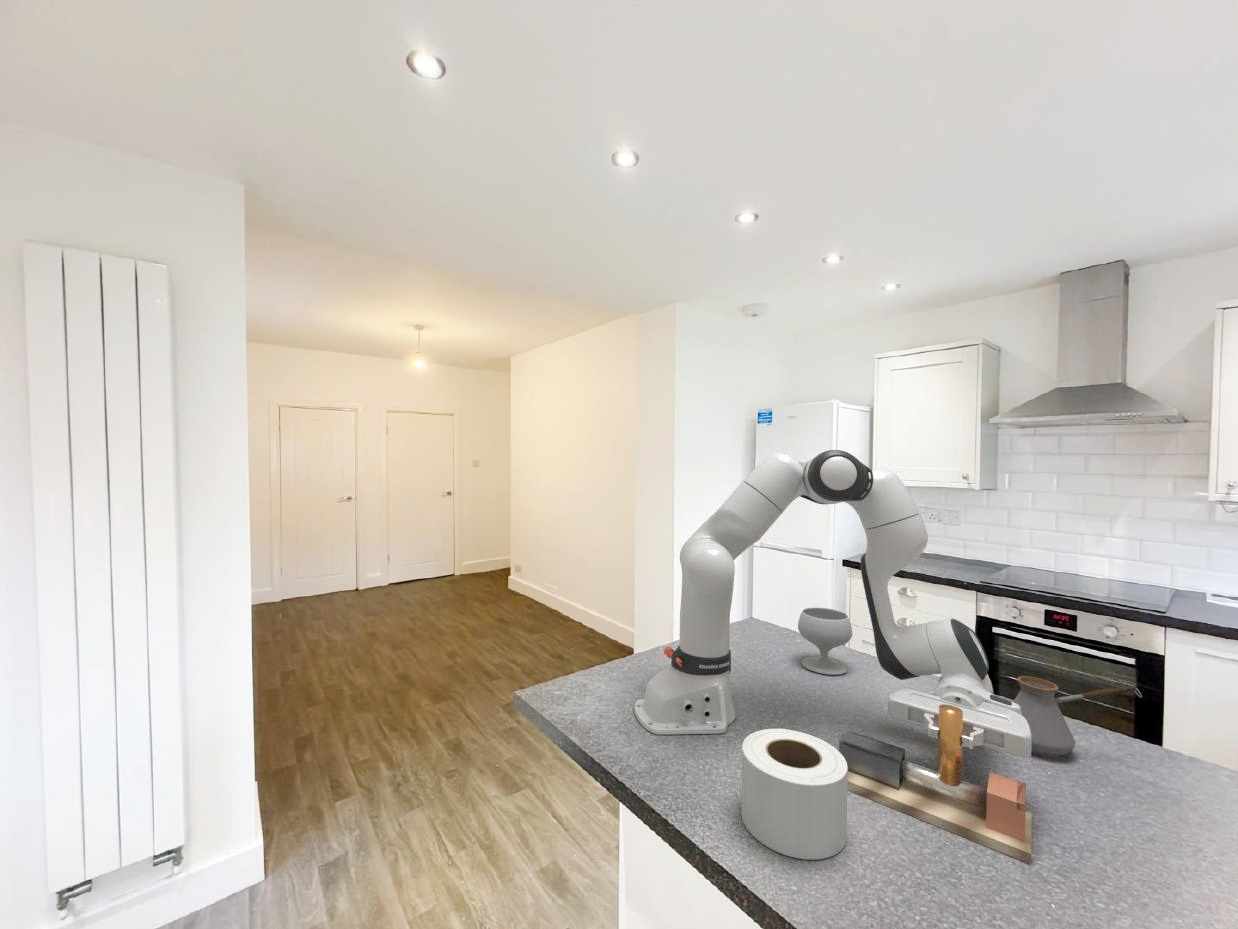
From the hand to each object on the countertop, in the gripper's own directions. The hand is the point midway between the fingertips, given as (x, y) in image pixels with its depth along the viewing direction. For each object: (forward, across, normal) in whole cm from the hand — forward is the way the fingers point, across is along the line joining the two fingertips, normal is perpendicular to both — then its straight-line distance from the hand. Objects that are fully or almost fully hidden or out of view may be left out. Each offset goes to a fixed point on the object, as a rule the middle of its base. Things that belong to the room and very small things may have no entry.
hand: (949, 738), depth 80 cm
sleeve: (-1, -12, +11) cm, 16 cm away
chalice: (-47, -34, +12) cm, 60 cm away
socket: (-1, +7, +11) cm, 13 cm away
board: (-1, -3, +12) cm, 13 cm away
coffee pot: (-37, +16, +12) cm, 42 cm away
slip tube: (-1, -3, +10) cm, 10 cm away
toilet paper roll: (+19, -18, +12) cm, 29 cm away
